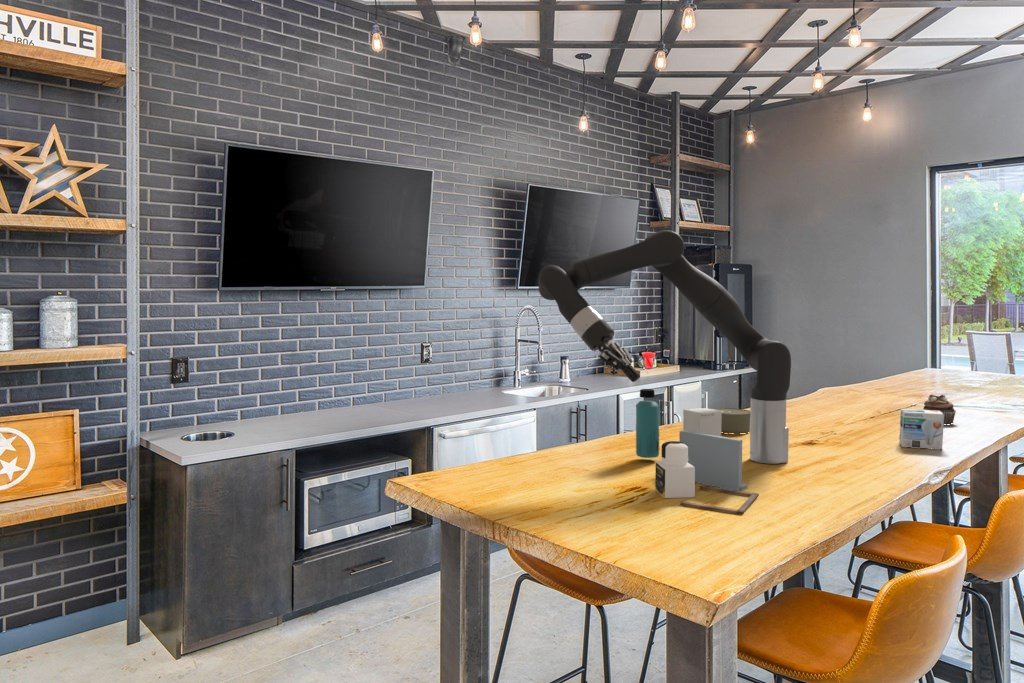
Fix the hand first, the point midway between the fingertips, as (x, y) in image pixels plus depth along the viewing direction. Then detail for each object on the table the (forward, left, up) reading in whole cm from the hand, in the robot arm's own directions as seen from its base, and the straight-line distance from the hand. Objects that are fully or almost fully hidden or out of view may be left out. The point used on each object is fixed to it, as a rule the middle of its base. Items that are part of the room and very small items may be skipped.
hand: (636, 379), depth 168 cm
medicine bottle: (-7, +12, -25) cm, 29 cm away
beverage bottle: (-6, -20, -25) cm, 33 cm away
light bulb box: (-90, -37, -26) cm, 101 cm away
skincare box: (-19, -12, -25) cm, 34 cm away
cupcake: (-117, -74, -25) cm, 141 cm away
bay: (-16, +17, -25) cm, 34 cm away
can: (-41, -61, -26) cm, 78 cm away
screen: (-17, +4, -25) cm, 31 cm away
